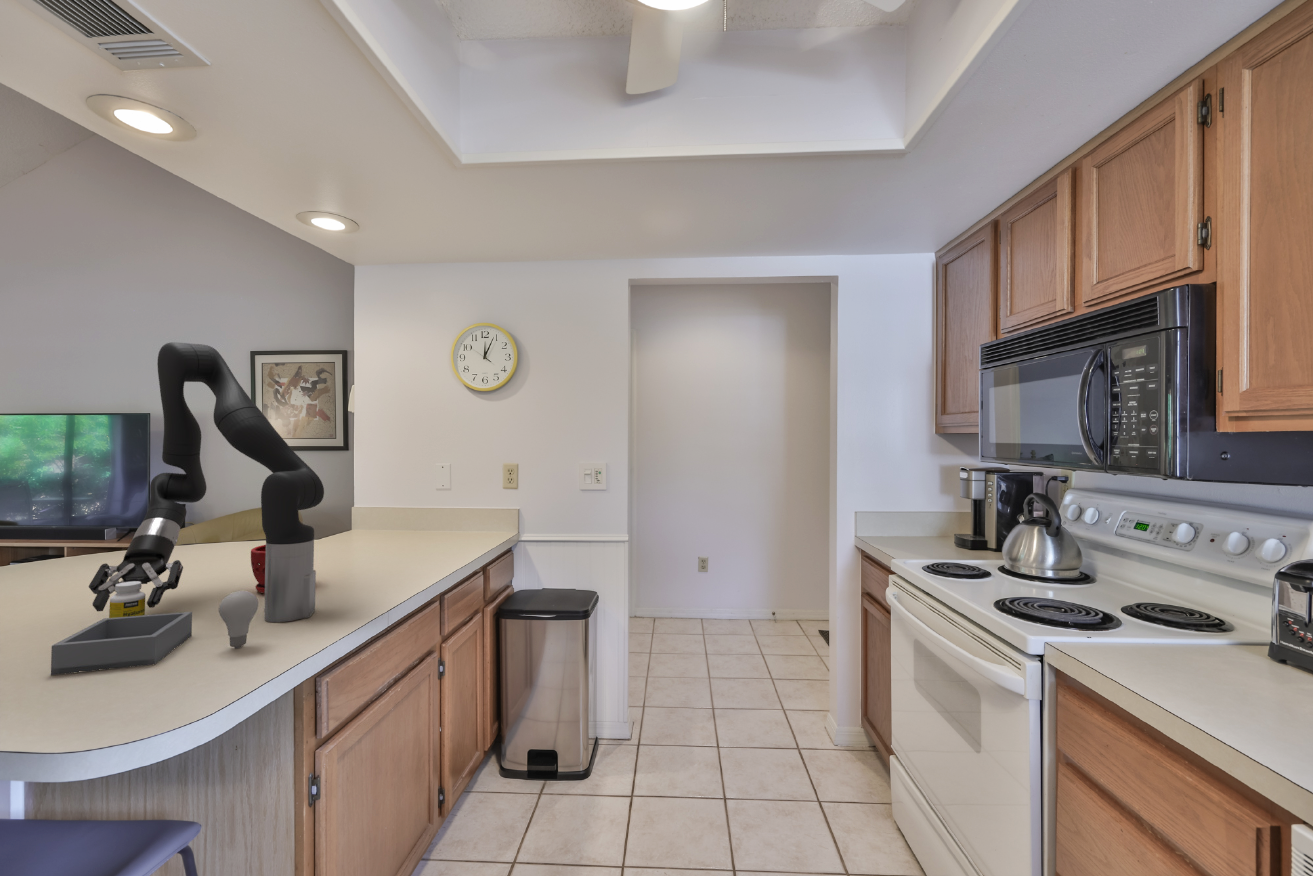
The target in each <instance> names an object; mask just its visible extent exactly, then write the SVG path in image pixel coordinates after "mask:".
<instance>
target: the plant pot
mask: <svg viewBox="0 0 1313 876" xmlns="http://www.w3.org/2000/svg"><path fill="white" fill-rule="evenodd" d="M265 560H266V544H262V545H258V546H256V547H253V548H251V549H250V565H251V566H250V567H251V569H252V574H253V576H254V579H255V580H256V582H257V584H256V585H255V590H256V591H257V592H259V593H262V594H265Z"/></svg>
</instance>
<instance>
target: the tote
mask: <svg viewBox="0 0 1313 876" xmlns="http://www.w3.org/2000/svg"><path fill="white" fill-rule="evenodd" d="M192 628H193V611H184V612H172V613H171V612H170V613H160V614H157V613H156V614H145V615H143V616H130V617H117V618H109V617H108V618H107V617H106V618H102V619H100V620H98V621H96V622H94V623H93V624H91V625H88V626H87V627H85V628H82V629H81V630H78V631H77V632H75V633H73V634H71V635H69V636H68V637H65V638H64V639H62V640H60V641H58V642H56V643H54V644H52V645H51V654H50V655H51V656H50V657H51V658H50V659H51V660H50V661H51V662H50V675H51V676H56V675H57V676H58V675H66V674H67V675H68V674H75V673H74V672H77V673H80V672H79V671H86V672H93V671H92V670H96V671H100V670H99V669H106V670H110V669H109V668H115V669H123V667H124V668H132V666H135V667H142V666H143V667H144V666H151V665H152V666H153V664H154V665H156V664H157V663H159V662H160V661H161V660H162V658H165V657H166V656H168V655H169V654H170V653H172V652H173V651H174V650H175V649H174V648H176V647H177V646H178V647H180V646H181V645H182V644H183V643H185V642H186V641H187V640H189V639H190V638H191V637H192V634H193V632H192V631H193V629H192ZM188 638H189V639H188ZM184 641H185V642H184ZM180 644H181V645H180ZM178 647H177V648H178ZM177 648H176V649H177ZM172 650H173V651H172ZM171 651H172V652H171ZM169 652H170V653H169ZM167 654H168V655H167ZM159 660H160V661H159ZM158 661H159V662H158ZM130 666H131V667H130ZM65 673H66V674H65Z"/></svg>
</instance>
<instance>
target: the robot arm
mask: <svg viewBox="0 0 1313 876" xmlns="http://www.w3.org/2000/svg"><path fill="white" fill-rule="evenodd" d="M156 366H157V376H158V383H159V385H158V386H159V390H160V391H159V393H160V400H161V407H162V414H163V439H162V454H161V458H162V459H161V460H162V462H163V463H164V464H166V465H168V466H172V467H175V468H178V469H180V470H182V471H183V472H184V473H179V472H178V473H176V472H161V473H159V474H156V475H155V476H154V477H153V478H152V480H151V481H150V485H149V492H150V493H149V495H150V496H149V497H150V498H149V505H148V509H147V512H146V513H145V516H144V518H143V520H142V522H141V524H140V525H139V526H138V528H137V530H136V531H135V533H134V536H133V537H132V539H131V542H130V543H129V545H128V548H127V550H126V552H125V554H124V556H123V560H122V561H121V562H120V564H118V565H109V564H108V563H102V564H101V565H100V566H99V568H98V569H97V571H96V572H95V575H94V577H93V578H92V580H91V581H90V582H89V585H88V588H89V590H90V591H91V592H92V593H93V594H94V595H95V597H94V599H93V601H92V606H93V608H94V609H95V610H96V612H104V609H105V607H106V605H107V603H108V601H109V600H110V598H111V594H113V593H114V592H115V585H116V584H119V583H124V582H131V581H140V582H141V585H147V584H148V583H151V582H152V584H153V585H154V587H152V589H151V592H150V594H149V597H148V599H147V601H146V605H147V607H148V608H149V609H150V608H151V609H152V608H155V607H156V606H157V605H160V602H161V600H162V598H163V595H164V593H165V592H166V591H168V590H175V589H177V588H178V586H179V583H180V579H181V577H182V573H183V569H184V566H183V565H182V562H181V561H180V560H178V559H175V560H174V561H173V562H170V563H169V560H170V558H171V556H172V553H173V551H174V548H175V546H176V545H177V543H178V539H179V536H180V531H181V528H182V526H183V524H184V522H185V519H186V516H187V509H186V507H185V505H183V504H181V503H191V504H192V503H198V502H199V501H201V500H202V499H203V498H204V496H205V495H206V493H207V482H206V478H205V475H204V471H203V469H202V468H203V467H202V464H201V447H202V446H201V445H202V430H201V427H200V424H199V422H198V421H197V419H196V417H195V416H194V414H193V413H192V411H191V410H190V408H189V405H188V403H187V402H186V398H185V395H184V393H185V392H184V391H185V389H184V388H185V383H190V382H191V383H203V384H205V385H206V386H207V387H208V388H209V389H210V391H211V392H212V394H213V395H214V397H215V404H214V408H213V421H214V422H213V423H214V425H215V427H216V428H217V430H218V431H219V432H220V433H221V435H222V436H223V437H224V439H225V440H226V441H227V443H228V444H229V445H230V446H232V447H233V448H234V449H235V450H237V451H238V452H240V453H241V454H243V455H244V456H245V457H248V458H250V459H251V460H253V461H255V462H256V463H259V464H260V465H262V466H264V467H265V468H267V469H268V470H269V471H270V472H271V474H269V475H268V476H266V478H265V480H264V481H263V483H262V487H261V491H260V503H261V504H260V505H261V506H260V507H261V509H260V510H261V527H262V530H263V532H264V535H265V545H266V560H265V593H264V608H263V609H264V610H263V612H264V613H263V614H264V616H263V618H264V620H265V621H266V622H270V623H283V622H291V621H296V620H301V619H307V618H310V617H311V616H312V614H313V613H314V612H315V610H316V584H317V583H316V581H317V580H316V579H317V572H316V570H315V568H314V565H315V563H314V562H315V558H314V557H315V528H314V527H313V526H311V525H307V524H303V523H302V522H301V521H300V520H301V519H300V518H299V517H300V516H299V511H303V510H308V509H312V508H314V507H317V506H319V505H320V504H321V503H322V502H323V499H324V495H325V487H324V484H323V482H322V480H321V478H320V476H319V475H318V474H317V473H316V472H315V471H314V470H313V469H312V468H311V467H310V466H309V465H308V464H307V463H306V462H305V461H304V459H301V457H300V456H299V455H298V454H297V453H296V452H295V451H294V450H293V449H292V448H291V447H290V446H289V444H288V443H287V442H286V441H285V439H283V437H282V436H281V434H280V433H279V432H278V431H277V430H276V428H274V425H272V424H271V422H270V421H269V420H268V418H267V417H266V416H265V415H264V413H263V411H261V410H260V409H259V407H258V405H256V403H254V401H253V400H252V399H251V398H250V396H249V395H248V394H247V392H246V391H245V390H244V388H243V387H242V385H241V384H240V383H239V381H238V380H237V378H236V377H235V375H234V374H233V372H232V370H231V369H230V367H229V365H228V364H227V362H226V360H225V359H224V358H223V356H222V355H221V354H220V352H219V351H217V349H215V348H214V347H213V346H210V345H208V344H203V343H202V344H199V343H189V342H188V343H187V342H175V341H174V342H173V341H172V342H167V343H165V344H164V345H162V346H161V347H160V348H159V351H158V355H157V365H156ZM167 570H168V572H169V574H168V577H167V580H166V581H162V579H161V578H160V576H161V575H162V574H164V572H166V571H167ZM120 579H122V580H121V581H120Z"/></svg>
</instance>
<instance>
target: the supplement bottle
mask: <svg viewBox="0 0 1313 876" xmlns="http://www.w3.org/2000/svg"><path fill="white" fill-rule="evenodd" d="M141 589H142V584H141V582H140V581H131V582H124V583H119V584H116V585H115V591H114V592H115V594H113V595H112V596H110V597H109V615H108V616H109V617H108V618H117V617H130V616H143V615H146V614H145V613H146V593H145V592H144V591H141Z"/></svg>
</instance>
